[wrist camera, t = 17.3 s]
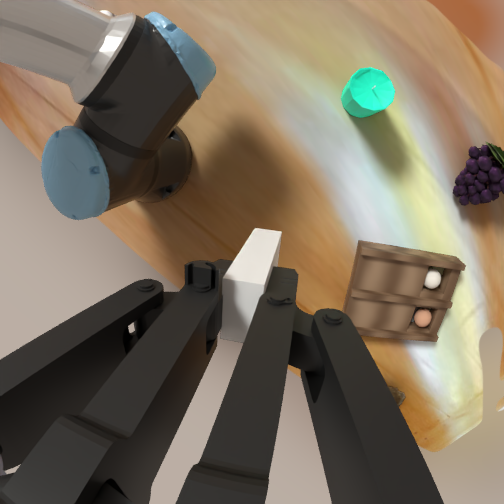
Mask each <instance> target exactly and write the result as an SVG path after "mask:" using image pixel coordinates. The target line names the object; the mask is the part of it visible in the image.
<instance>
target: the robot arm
mask: <svg viewBox="0 0 504 504" xmlns="http://www.w3.org/2000/svg"><path fill="white" fill-rule="evenodd" d="M0 62H3V63H7V64H10V65H13V66H16V67H19V68H22V69H25V70H28V71H31V72H34V73H37V74H40V75H43V76H46V77H49V78H51V79H54V80H57V81H60V82H62V83H65V84H68V86H69V87H70V90H71V93H72V96H73V99H74V102H76V103H78V104H80V105H83V106H84V107H83V109H82V111H81V113H80V114H79V116H78V118H77V120H76V122H75V123H74V125H73V126H65V127H63V128H62V129H61V130H59V131H56V132H55V133H54V134H53V135H52V136H51V137H50V138H49V140H48V141H47V143H46V145H45V148H44V151H43V155H42V166H41V169H42V178H43V181H44V187H45V190H46V192H47V195H48V197H49V199H50V201H51V202H52V204H53V205H54V206H55V207H56V209H57V210H58V211H59V212H60V213H62V214H63V215H65V216H67V217H68V218H71V219H75V220H81V219H87V218H90V217H97V216H99V215H101V214H102V213H104V212H106V211H108V210H111V209H113V208H115V207H118V206H120V205H123V204H125V203H128V202H130V201H133V200H136V201H141V202H148V203H150V202H158V201H161V200H164V199H166V198H168V197H171V196H172V195H174V194H175V193H176V192H178V191H179V190H180V188H181V187H182V186H183V185H184V183H185V182H186V180H187V178H188V175H189V172H190V168H191V160H192V157H191V149H190V145H189V142H188V140H187V138H186V136H185V134H184V133H183V131H182V130H181V129H180V128H179V127H178V126H177V124H178V123H179V121H180V120H181V119H182V117H183V116H184V115H185V114H186V112H187V111H188V110H189V109H190V107H191V106H192V105H193V104H194V102H195V101H196V100H199V99H200V98H201V94H202V92H203V91H204V90H205V89H206V87H207V86H208V85H209V83H210V82H211V81H212V80H213V78H214V76H215V74H216V66H215V64H214V62H213V60H212V59H211V57H210V56H209V55H208V54H207V53H206V52H205V51H204V50H203V49H202V48H201V47H200V46H199V45H198V44H197V43H196V42H195V41H194V40H193V39H192V38H191V37H190V36H189V35H188V34H186V33H185V32H184V31H183V30H182V29H180V28H178V27H177V26H176V25H175V24H173V23H172V22H171V21H170V20H169V19H167V18H166V17H164V16H163V15H161V14H159V13H157V12H151V13H149V14H147V15H146V16H145V17H144V19H143V18H141V17H139V16H137V15H136V14H134V13H127V14H123V15H119V16H115V17H110V16H108V15H106V14H104V13H102V12H100V11H98V10H96V9H94V8H92V7H89V6H87V5H85V4H83V3H81V2H78V1H76V0H0ZM281 234H282V232H281V231H274V230H267V229H259V228H255V229H254V230H253V232H252V233H251V235H250V236H249V238H248V240H247V241H246V243H245V244H244V246H243V247H242V249H241V250H240V252H239V253H238V255H237V257H236V258H235V260H234V261H230V260H223V259H220V260H217V261H215V262H209V261H201V260H200V261H192V262H189V263H187V264H185V285H184V287H183V288H182V289H181V290H180V291H179V292H164V291H163V290H164V289H163V285H162V283H160V282H159V281H156V280H152V279H144V280H139V281H136V282H134V283H132V284H130V285H128V286H127V287H125V288H123V289H121V290H119V291H118V292H116V293H114V294H113V295H110V296H109V297H107V298H105V299H103V300H101V301H100V302H98V303H96V304H94V305H93V306H91V307H89V308H87V309H85V310H84V311H82V312H80V313H78V314H77V315H75V316H73V317H71V318H70V319H68V320H66V321H65V322H63V323H61V324H59V325H58V326H56V327H54V328H53V329H51V330H49V331H47V332H46V333H44V334H42V335H41V336H39V337H37V338H36V339H34V340H32V341H31V342H29V343H27V344H25V345H24V346H22V347H20V348H19V349H17V350H16V351H14V352H12V353H11V354H9V355H7V356H6V357H4V358H3V359H1V360H0V504H149V501H150V494H151V486H152V483H153V481H154V479H155V477H156V475H157V472H158V470H159V468H160V466H161V464H162V462H163V460H164V458H165V455H166V453H167V451H168V449H169V447H170V445H171V443H172V440H173V439H174V436H175V434H176V432H177V430H178V428H179V426H180V424H181V422H182V420H183V417H184V415H185V413H186V411H187V409H188V407H189V405H190V403H191V400H192V398H193V396H194V394H195V392H196V390H197V388H198V385H199V383H200V381H201V379H202V377H203V375H204V372H205V370H206V368H207V366H208V364H209V362H210V360H211V357H212V355H213V353H214V351H215V349H216V347H217V335H218V333H219V331H220V329H221V336H220V338H221V339H226V340H230V341H235V342H241V343H243V346H242V349H241V352H240V355H239V357H238V360H237V363H236V366H235V369H234V371H233V374H232V377H231V379H230V382H229V385H228V388H227V391H226V393H225V396H224V399H223V401H222V404H221V407H220V409H219V412H218V415H217V418H216V420H215V423H214V425H213V428H212V431H211V433H210V436H209V439H208V441H207V444H206V447H205V449H204V452H203V455H202V457H201V459H200V461H199V463H198V464H195V465H193V467H192V468H191V470H190V471H189V473H188V476H187V478H186V480H185V483H184V485H183V487H182V490H181V492H180V494H179V497H178V500H177V502H176V504H265V500H266V495H267V490H268V484H269V479H268V478H269V472H270V467H271V462H272V457H273V451H274V446H275V441H276V435H277V429H278V424H279V418H280V412H281V406H282V400H283V394H284V386H285V381H286V374H287V367H288V365H291V366H293V367H296V368H299V369H301V378H302V382H303V386H304V390H305V394H306V398H307V402H308V406H309V410H310V413H311V418H312V422H313V426H314V430H315V434H316V438H317V442H318V447H319V451H320V455H321V459H322V463H323V467H324V471H325V475H326V480H327V484H328V488H329V493H330V497H331V501H332V504H444V503H443V500H442V498H441V496H440V493H439V491H438V489H437V487H436V484H435V482H434V480H433V477H432V475H431V473H430V471H429V469H428V467H427V464H426V462H425V460H424V458H423V456H422V454H421V452H420V450H419V447H418V445H417V443H416V441H415V439H414V437H413V435H412V433H411V431H410V429H409V427H408V425H407V423H406V421H405V419H404V417H403V415H402V413H401V411H400V409H399V407H398V405H397V403H396V401H395V399H394V397H393V395H392V393H391V391H390V390H389V388H388V386H387V384H386V382H385V380H384V378H383V376H382V374H381V373H380V371H379V369H378V367H377V365H376V363H375V361H374V360H373V358H372V356H371V354H370V352H369V351H368V349H367V347H366V345H365V343H364V342H363V340H362V338H361V336H360V334H359V333H358V331H357V329H356V327H355V326H354V324H353V322H352V320H351V319H350V318H349V316H348V315H347V314H345V313H343V312H342V311H340V310H337V309H329V308H327V309H320V310H318V311H316V313H315V314H314V316H313V315H310V314H308V313H305V312H303V311H302V310H300V309H299V308H298V307H297V305H296V302H295V300H296V292H297V283H298V274H297V272H296V271H295V269H289V268H282V267H278V259H279V250H280V242H281ZM133 322H134V327H135V331H134V332H132V333H129V329H128V326H129V325H130V324H131V323H133ZM20 464H21V465H20ZM18 465H20V466H19V468H18V469H17V471H16V472H15V473H11V474H6V473H5V470H8V469H11V468H14V467H16V466H18Z"/></svg>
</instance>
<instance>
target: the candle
mask: <svg viewBox="0 0 504 504" xmlns="http://www.w3.org/2000/svg"><path fill="white" fill-rule="evenodd" d="M394 94H395V89H394V87H393V85H392V82H391V80H390V79H389V78H388V77H387V75H386V74H385V73H384V72H383V71H381V70H378V69H374V68H371V67H369V68H361V69H359V70H358V71H357V72H356V73H354V74H353V75H352V76H351V78H350V80H349V81H348V83H347V84H346V86H345V88H344V89H343V92H342V96H341V101H342V104H343V107H344V109H345V110H346V111H347V112H348V113H349V114H350V115H352V116H355V117H359V118H363V117H368V116H371V115H373V114H375V113H377V112H380V111H382V110H384V109H386V108H387V107H388V106H389V105H390V104H391V103H392V102H393V99H394Z"/></svg>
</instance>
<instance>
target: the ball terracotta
mask: <svg viewBox="0 0 504 504" xmlns="http://www.w3.org/2000/svg"><path fill="white" fill-rule="evenodd" d="M431 318H432V316H431V313H430V311H429V310H428V309H426V308H421V309H419V310H417V311H416V313H415V315H414V321H415V323H416V325H418V326H419V327H425V326H427V325H428V324H429V323H430V322H431Z"/></svg>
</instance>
